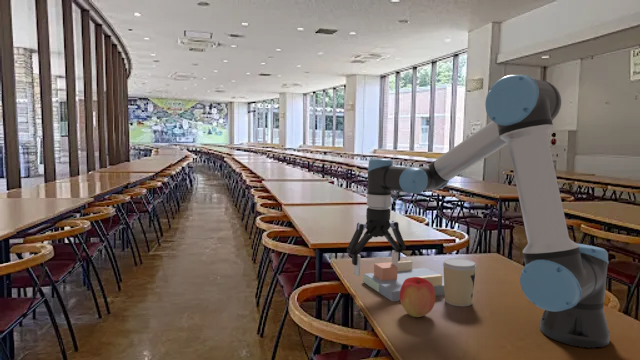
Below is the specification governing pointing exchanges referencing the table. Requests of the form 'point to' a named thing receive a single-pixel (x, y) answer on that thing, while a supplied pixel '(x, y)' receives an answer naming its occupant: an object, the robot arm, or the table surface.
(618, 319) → the table surface
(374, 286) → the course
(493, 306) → the table surface
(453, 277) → the coffee cup
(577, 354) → the table surface
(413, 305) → the apple
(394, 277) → the block
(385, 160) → the robot arm
